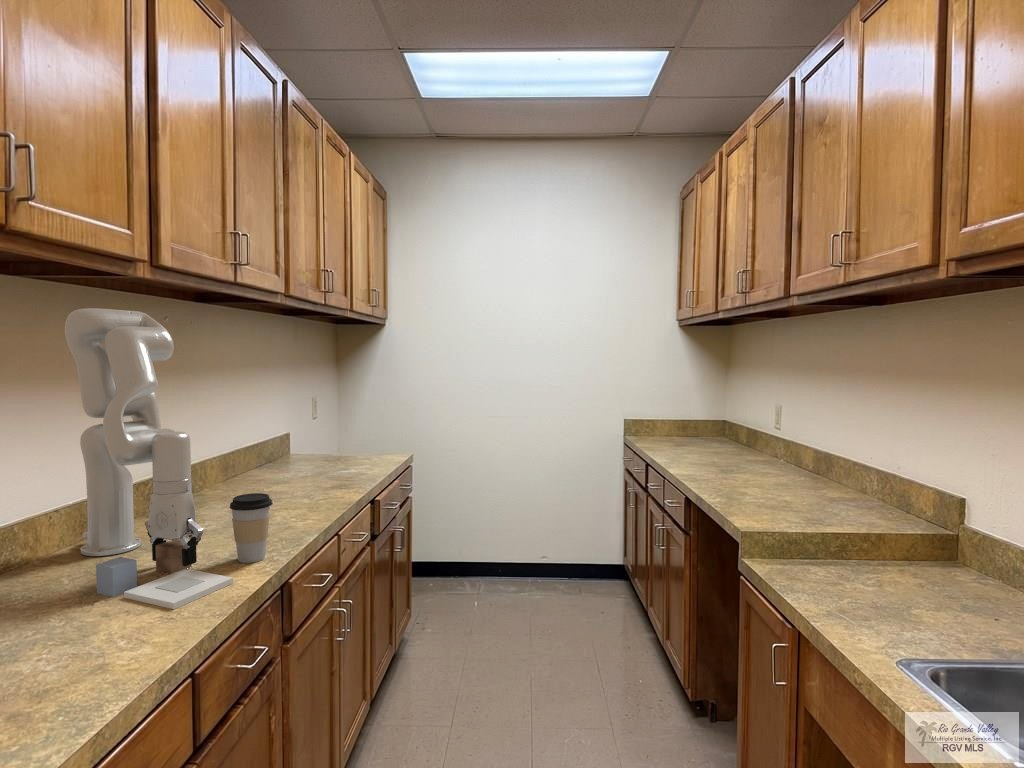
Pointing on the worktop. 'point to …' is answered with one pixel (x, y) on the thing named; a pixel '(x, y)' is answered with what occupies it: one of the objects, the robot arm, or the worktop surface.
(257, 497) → the coffee cup
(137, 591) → the plate
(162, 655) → the worktop surface
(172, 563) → the block walnut
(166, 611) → the worktop surface
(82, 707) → the worktop surface
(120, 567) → the block blue
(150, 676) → the worktop surface
